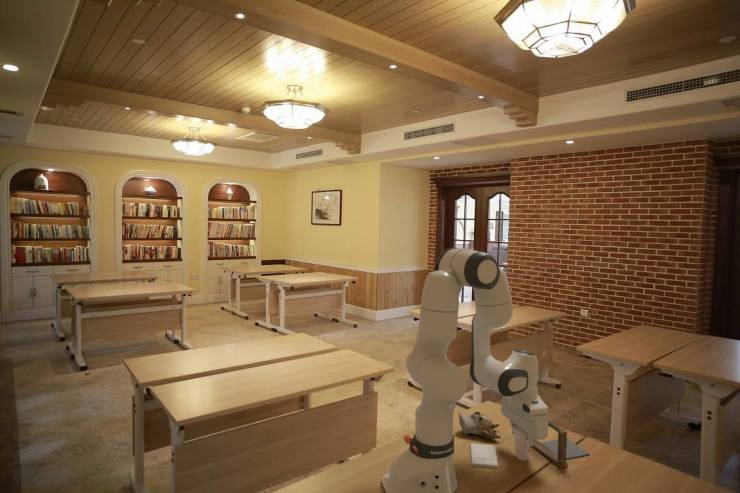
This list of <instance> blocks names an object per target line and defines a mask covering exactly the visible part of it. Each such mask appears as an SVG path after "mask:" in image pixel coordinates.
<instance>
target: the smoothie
mask: <svg viewBox="0 0 740 493" xmlns="http://www.w3.org/2000/svg"><path fill="white" fill-rule="evenodd" d="M513 432H514V434H513V439H514V448H515V449H514V450H515V456H516V459H517V460H519V461H528V459H529V454H530V449H531V448H530V447H531V446H528V445H527V444H526V439H529V436H528V433H527V432H526V431H524V430H523V429H522V428H520V427H519V426H518V425H515V426H514V427H513Z"/></svg>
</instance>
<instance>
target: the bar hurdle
mask: <svg viewBox="0 0 740 493" xmlns="http://www.w3.org/2000/svg"><path fill="white" fill-rule="evenodd" d="M548 427H550V428H551V429H552V430H554V431H556V432H557V433H558V434H557V440H558V455H556V454H555V453H554V452H552V451H551V450H549V449H548V448H547V447H545V446H544V445H543V444H541V442H540V441H539V440H537V439H535V440H534V445H533V446H531V448H533V449H534V450H536V451H537V452H538V453H539V454H541V455H542V456H543V457H544V458H546V459H547V460H548V461H550V462H552V464H554V465H555V466H557V467H558V468H559V469H562V468H567V467H569V462H567V460H566V449H567V439H568V431H567V430H565V429H564V428H561V427H559V426H558V425H556V424H554V423H553V422H552V421H551V420H548Z"/></svg>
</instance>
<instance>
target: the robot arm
mask: <svg viewBox="0 0 740 493" xmlns="http://www.w3.org/2000/svg"><path fill="white" fill-rule="evenodd" d="M433 270H434V271H432V272H429V273H428V274H427V275H426V278H425V279H424V283H423V288H422V292H421V298H420V299H421V300H420V306H419V307H420V308H419V309H420V310H419V322H418V330H417V331H418V332H417V335H416V340H415V343H414V346H413V347H412V348H413V349H412V350H411V351H410V352H408V354H407V356H406V360H405V367H406V370H407V372H408V374H409V376H410V377H411V379H412V380H413V381H414V382H415V383H416V384H418V385H419V386H420V388H421V391H422V398H421V402H420V404H419V405H418V406H417V407H416V409H415V413H414V414H415V418H414V419H415V421H414V422H415V423H414V424H415V426H414V427H415V428H414V431H415V432H414V434H413V437H411V436H410V435H409V434H405V435H404V436H403V441H404V442H405V444H406V445H409V447H408V448H407V449H406V450H404V451H403V452H402V453H401V454H399V455H398V456H396V458H394V459H393V460H392V462H391V464H390V468H389V469H390V470H389V472H387V473H385V474H383V476H382V479H381V485H382V484H383V486H382V488H383V487H384V488H383V490H384V489H385V490H384V492H385V491H386V492H385V493H454V492H455V491H456V490H457V489H458V486H459V482H458V480H457V476H456V471H455V462H454V454H455V437H454V435H453V434H454V433H453V432H454V426H453V425H454V412H455V408H456V405H457V403H458V401H460V400H461V399H462V398H463V397H464V395H465V393H466V391H467V388H468V384H467V383H468V382H467V378H466V376H465V374H464V373H463V372H462V371H461V369H460V368H459V366H458V365H456V364H455V363H453V361H451V360H449V359H448V358H447V352H448V349H449V346H450V344H451V342H453V341H454V340H455V339H456V337H457V333H458V332H457V331H458V320H459V309H460V308H459V305H460V304H459V303H460V298H459V297H460V294H461V292H462V291H463V290H462V289H463V288H464V287H467V288H469V287H470V288H472V290H473V294H474V303H475V313H474V315H473V316H472V320H471V360H470V363H469V375H470V376H469V377H470V379H471V380H472V382H474V383H475V384H476V385H477V386H478V385H479V386H481V387H484V388H487V389H489V390H490V391H492V392H493V393H494V392H495V393H497V394H499V395H501V396H502V399H501V404H500V405H501V408H500V411H501V414H502V415H503V416H504V417H505V418H506V419H508V420H509V425H510V427H511V433H512V435H514V432H513V427H514V426H515V425H518V426H519V427H520V428H522V429H523V430H524V431H526V432H527V433H528V436H529V439H526V444H527V445H528V446H530V447H532V446H533V445H534V440H535V439H536V440H537V441H539V440H544V439H546V438H547V437H548V434H549V426H548V421H549V418H548V415H547V414H548V413H549V407H548V405H547V404H546V403H545V402H544V400H543V399H542V398H541V396H540V395H539V394H538V393H539V389H538V381H539V361H538V358H537V355H536V354H535V353H534V352H531V351H529V350H525V349H521V348H514V349H513V350H512V352H511V354H510V356H508V358H507V359H505V360H504V361H500V360H497V359H496V358H495V357H494V356H493V355H492V353H491V333H492V331H493V330H494V331H495V330H497V329H499V328H502V327H504V326H506V325H507V324H508V323H509V322H510V321H511V319H512V317H513V313H514V312H513V311H514V308H513V300H512V299H513V298H512V293H511V288H510V284H509V279H508V276H507V274H506V271H505V270H504V268H502V267H500V266H499V264H498V262H497V260H496V258H495V257H493V255H491V254H489V253H487V252H485V251H478V250H475V249H471V248H465V247H464V248H462V247H459V248H458V247H450V248H446V249H444V250H443V251H442V252H440V254H439V255H438V257H437V259H436V262H435V266H434V269H433ZM385 480H386V481H385Z"/></svg>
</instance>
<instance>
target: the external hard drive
mask: <svg viewBox="0 0 740 493" xmlns="http://www.w3.org/2000/svg"><path fill="white" fill-rule="evenodd" d="M470 457H471V466H472V467H479V468H489V469H499V461H498V456H497V450H496V446H495V445H493V444H492V445H491V444H484V443H483V444H482V443H470Z"/></svg>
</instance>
